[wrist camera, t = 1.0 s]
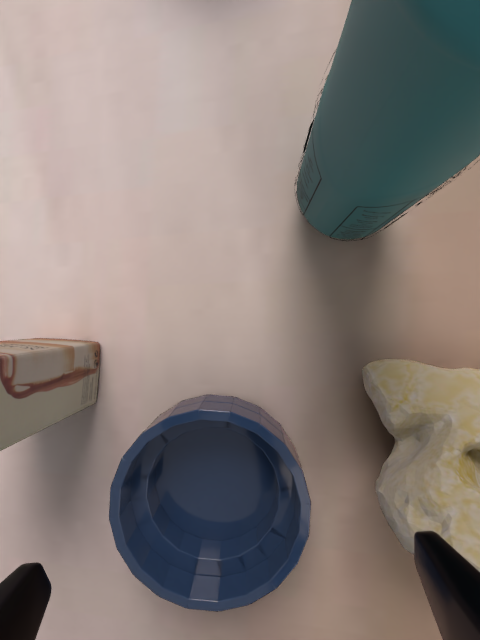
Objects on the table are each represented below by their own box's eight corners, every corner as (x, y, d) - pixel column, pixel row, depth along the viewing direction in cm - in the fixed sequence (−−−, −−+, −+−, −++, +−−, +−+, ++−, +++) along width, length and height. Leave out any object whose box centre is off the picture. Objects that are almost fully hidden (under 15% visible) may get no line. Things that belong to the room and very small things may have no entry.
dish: (294, 565, 22) (303, 620, 18) (130, 550, 22) (103, 601, 18) (304, 399, 22) (316, 417, 18) (139, 387, 22) (114, 403, 18)
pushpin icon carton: (102, 340, 22) (-23, 359, 12) (98, 404, 22) (-30, 476, 12) (28, 334, 22) (-155, 349, 12) (24, 398, 22) (-161, 464, 12)
